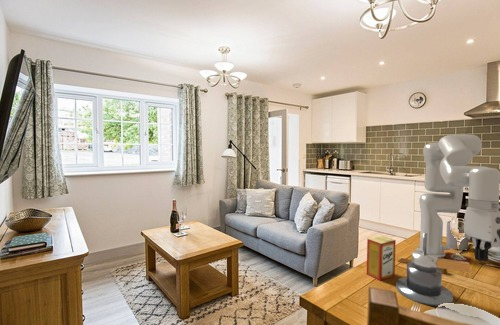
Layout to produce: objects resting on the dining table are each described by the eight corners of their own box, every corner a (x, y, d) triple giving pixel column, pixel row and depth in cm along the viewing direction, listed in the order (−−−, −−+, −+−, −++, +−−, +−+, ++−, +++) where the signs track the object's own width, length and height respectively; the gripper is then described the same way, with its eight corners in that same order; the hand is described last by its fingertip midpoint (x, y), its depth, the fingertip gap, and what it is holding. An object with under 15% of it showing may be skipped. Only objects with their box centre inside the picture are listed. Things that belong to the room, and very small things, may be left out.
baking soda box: (379, 280, 109) (380, 242, 108) (366, 274, 114) (367, 238, 114) (394, 275, 113) (395, 239, 112) (380, 269, 119) (381, 234, 118)
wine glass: (457, 244, 151) (458, 218, 150) (473, 250, 141) (473, 223, 141) (441, 244, 151) (442, 218, 150) (455, 251, 141) (456, 223, 140)
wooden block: (413, 269, 97) (414, 235, 97) (410, 261, 105) (411, 229, 104) (472, 279, 90) (474, 242, 89) (464, 269, 97) (466, 235, 97)
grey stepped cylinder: (426, 279, 110) (427, 257, 109) (466, 304, 92) (467, 278, 91) (386, 281, 108) (386, 259, 107) (418, 308, 90) (419, 280, 89)
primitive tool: (397, 262, 128) (397, 255, 127) (400, 259, 131) (401, 252, 131) (445, 276, 114) (446, 268, 113) (448, 272, 117) (448, 264, 117)
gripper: (518, 209, 80) (516, 269, 80) (470, 200, 94) (469, 251, 95) (498, 210, 79) (495, 270, 79) (452, 201, 93) (450, 252, 94)
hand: (481, 259), depth 87 cm, fingers closed
